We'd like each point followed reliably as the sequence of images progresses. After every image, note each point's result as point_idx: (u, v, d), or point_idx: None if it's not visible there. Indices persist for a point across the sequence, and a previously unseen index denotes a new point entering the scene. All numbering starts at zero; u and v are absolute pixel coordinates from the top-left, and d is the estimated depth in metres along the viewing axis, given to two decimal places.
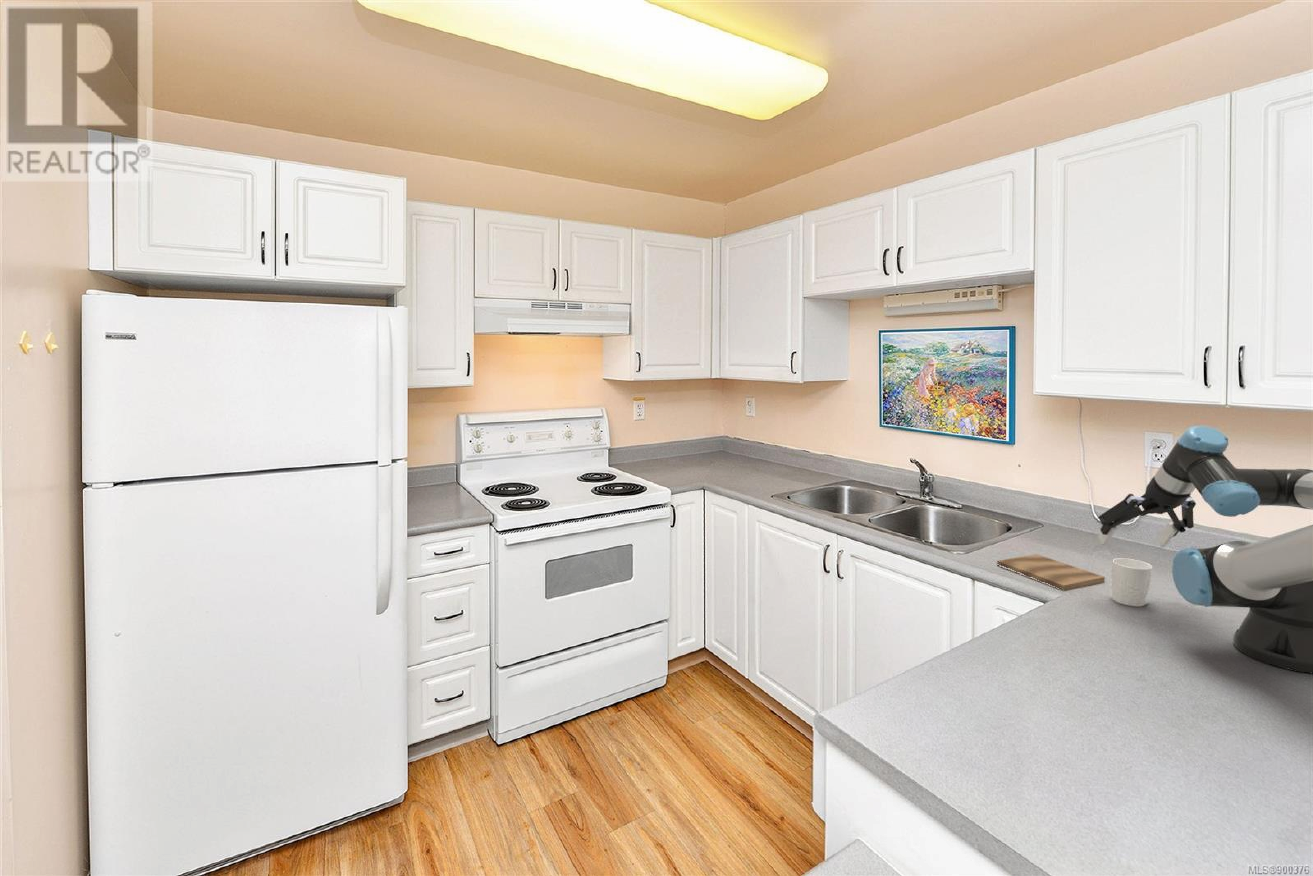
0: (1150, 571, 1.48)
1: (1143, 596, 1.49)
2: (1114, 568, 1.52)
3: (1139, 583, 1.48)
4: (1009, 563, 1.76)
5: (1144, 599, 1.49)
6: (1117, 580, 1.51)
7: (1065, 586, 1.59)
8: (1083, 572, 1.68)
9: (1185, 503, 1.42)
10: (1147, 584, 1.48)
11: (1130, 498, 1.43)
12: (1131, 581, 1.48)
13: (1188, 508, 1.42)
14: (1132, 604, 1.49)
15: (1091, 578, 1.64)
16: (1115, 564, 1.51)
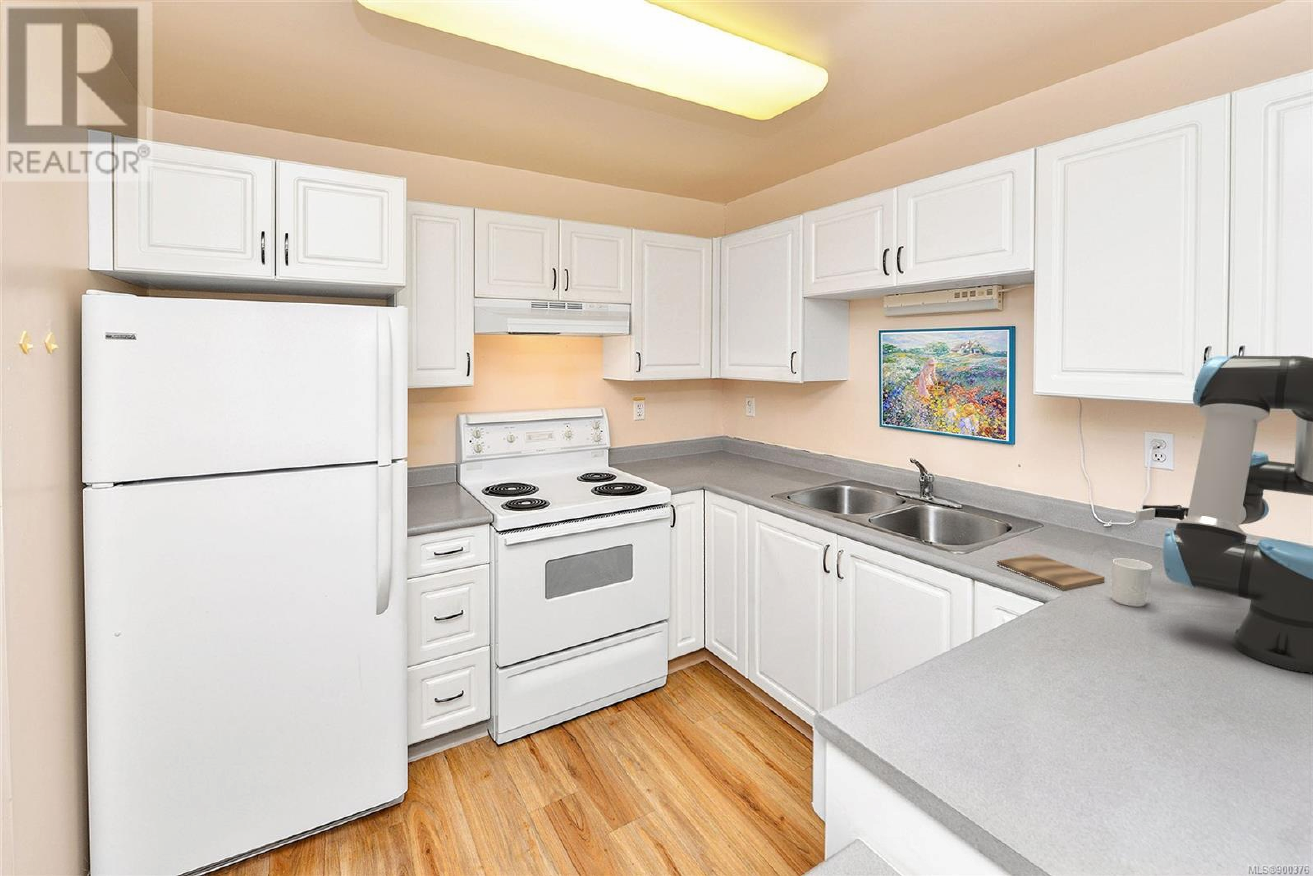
0: (1150, 571, 1.48)
1: (1143, 596, 1.49)
2: (1114, 568, 1.52)
3: (1139, 583, 1.48)
4: (1009, 563, 1.76)
5: (1144, 599, 1.49)
6: (1117, 580, 1.51)
7: (1065, 586, 1.59)
8: (1083, 572, 1.68)
9: None
10: (1147, 584, 1.48)
11: None
12: (1131, 581, 1.48)
13: None
14: (1132, 604, 1.49)
15: (1091, 578, 1.64)
16: (1115, 564, 1.51)
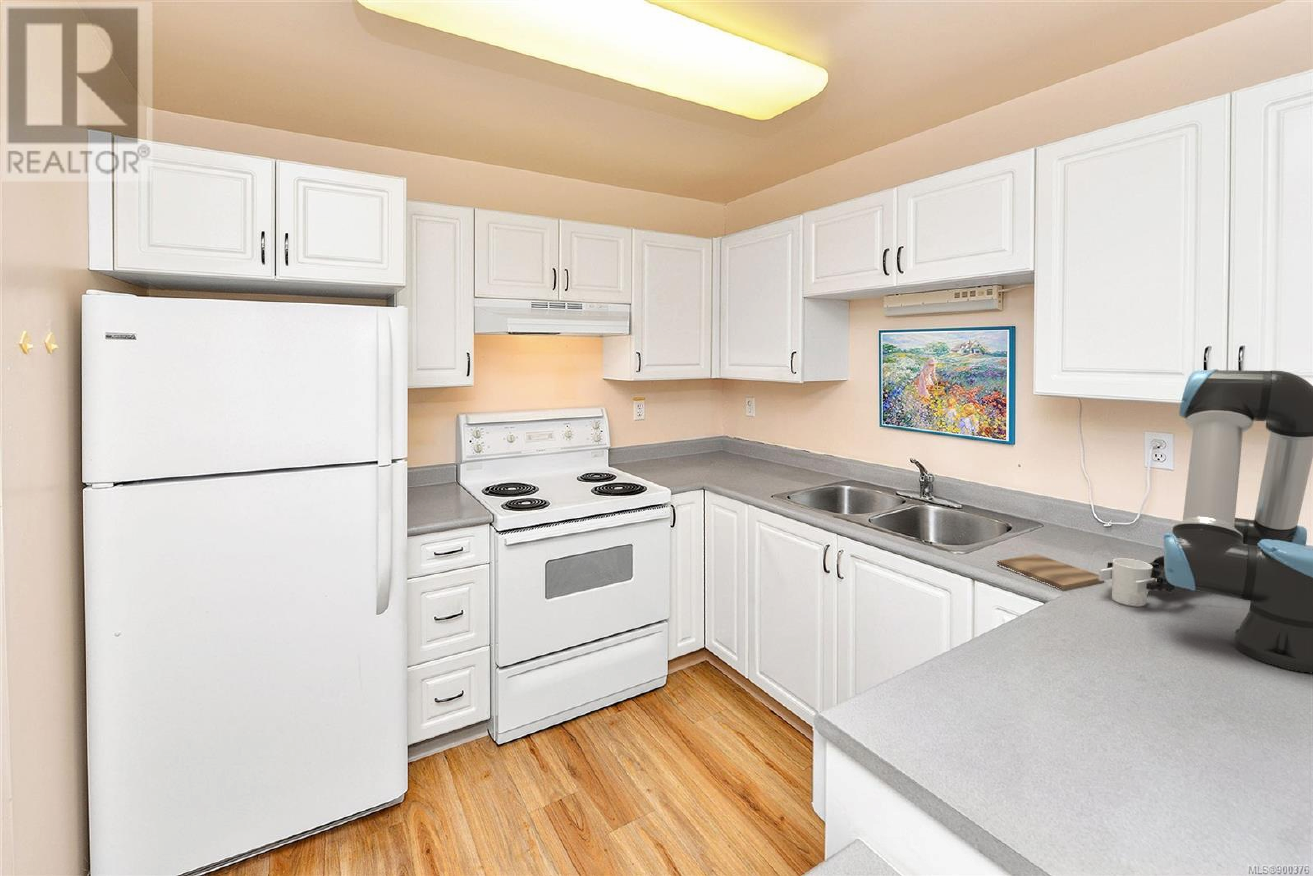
0: (1150, 571, 1.48)
1: (1143, 596, 1.49)
2: (1114, 568, 1.52)
3: None
4: (1009, 563, 1.76)
5: (1144, 599, 1.49)
6: (1117, 580, 1.51)
7: (1065, 586, 1.59)
8: (1083, 572, 1.68)
9: None
10: None
11: None
12: (1131, 580, 1.48)
13: None
14: (1132, 604, 1.49)
15: (1091, 578, 1.64)
16: (1115, 564, 1.51)
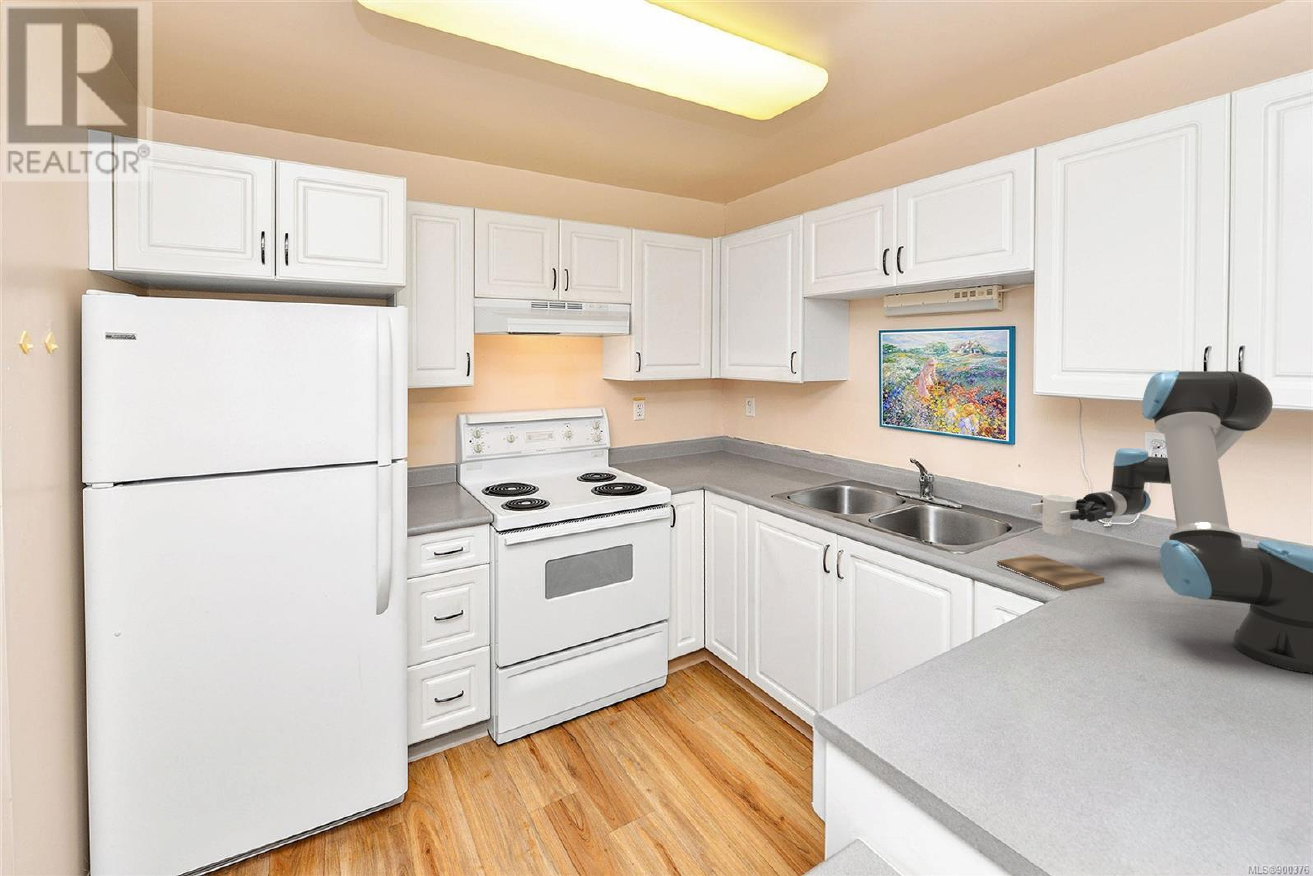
0: (1074, 503, 1.64)
1: (1068, 526, 1.65)
2: (1043, 502, 1.69)
3: None
4: (1009, 563, 1.76)
5: (1069, 529, 1.66)
6: (1045, 513, 1.68)
7: (1065, 586, 1.59)
8: (1083, 572, 1.68)
9: None
10: None
11: None
12: (1057, 512, 1.65)
13: (1104, 508, 1.66)
14: (1058, 533, 1.66)
15: (1091, 578, 1.64)
16: (1044, 498, 1.68)
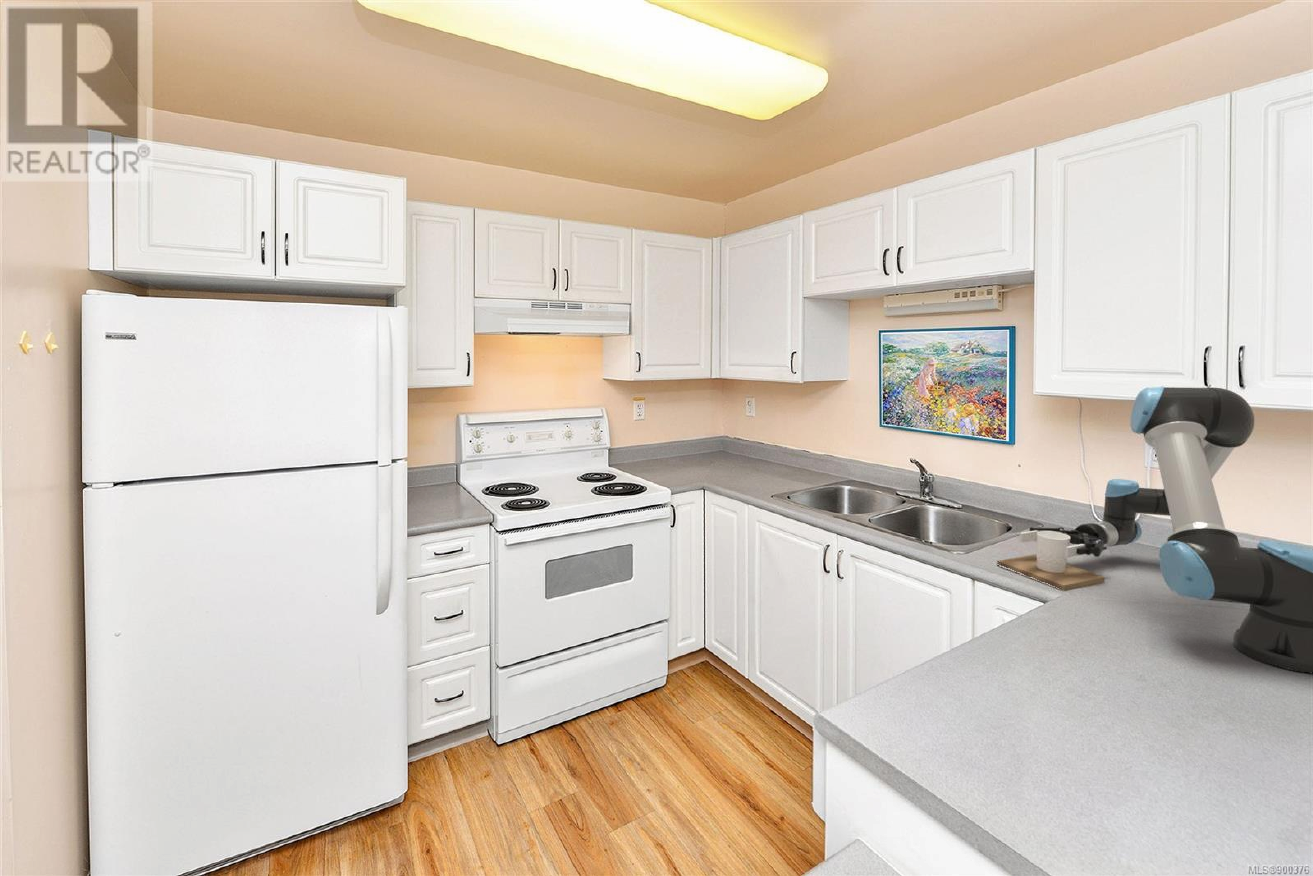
0: (1068, 541, 1.66)
1: (1062, 563, 1.67)
2: (1038, 539, 1.70)
3: (1058, 552, 1.66)
4: (1009, 563, 1.76)
5: (1063, 566, 1.67)
6: (1040, 550, 1.69)
7: (1065, 586, 1.59)
8: (1083, 572, 1.68)
9: None
10: None
11: None
12: (1051, 550, 1.67)
13: (1100, 540, 1.68)
14: (1053, 571, 1.68)
15: (1091, 578, 1.64)
16: (1038, 535, 1.70)
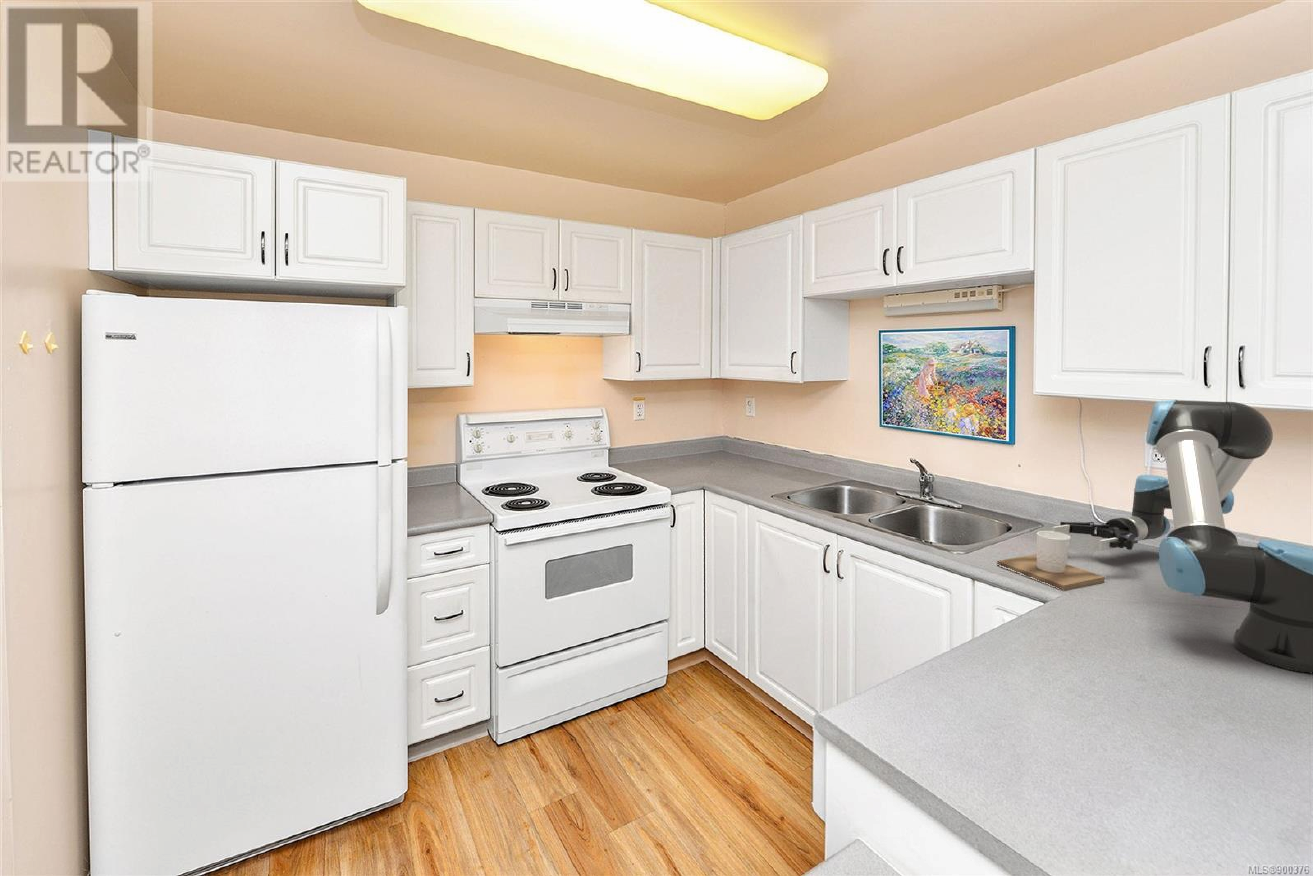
0: (1068, 541, 1.66)
1: (1062, 563, 1.67)
2: (1038, 539, 1.70)
3: (1058, 552, 1.66)
4: (1009, 563, 1.76)
5: (1063, 566, 1.67)
6: (1040, 550, 1.69)
7: (1065, 586, 1.59)
8: (1083, 572, 1.68)
9: None
10: (1065, 553, 1.66)
11: None
12: (1051, 550, 1.67)
13: (1131, 534, 1.72)
14: (1053, 571, 1.68)
15: (1091, 578, 1.64)
16: (1038, 535, 1.70)
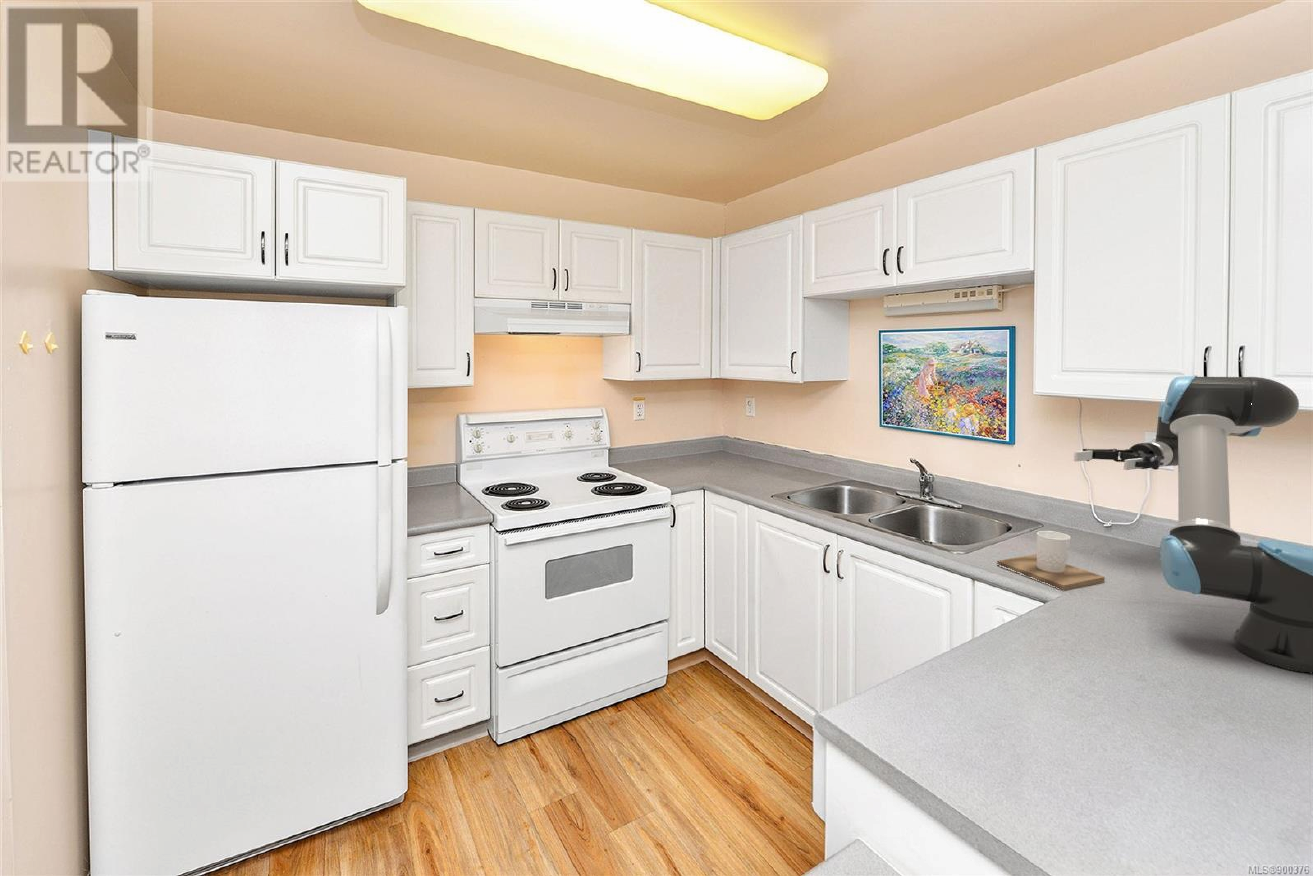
0: (1068, 541, 1.66)
1: (1062, 563, 1.67)
2: (1038, 539, 1.70)
3: (1058, 552, 1.66)
4: (1009, 563, 1.76)
5: (1063, 566, 1.67)
6: (1040, 550, 1.69)
7: (1065, 586, 1.59)
8: (1083, 572, 1.68)
9: None
10: (1065, 553, 1.66)
11: None
12: (1051, 550, 1.67)
13: (1157, 456, 1.69)
14: (1053, 571, 1.68)
15: (1091, 578, 1.64)
16: (1038, 535, 1.70)
